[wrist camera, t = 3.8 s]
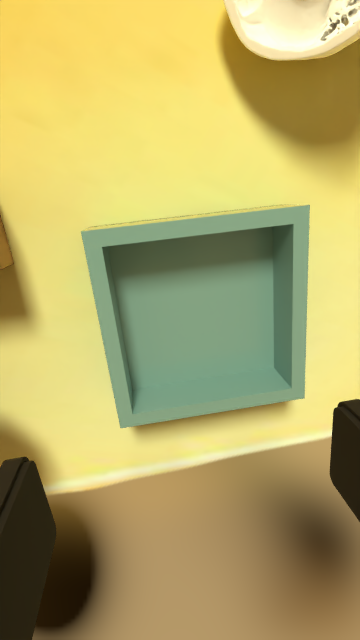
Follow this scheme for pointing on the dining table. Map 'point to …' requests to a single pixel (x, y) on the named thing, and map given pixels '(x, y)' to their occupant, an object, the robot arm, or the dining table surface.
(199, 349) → the stoneware box
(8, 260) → the walnut cube
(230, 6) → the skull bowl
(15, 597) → the robot arm
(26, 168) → the dining table surface
